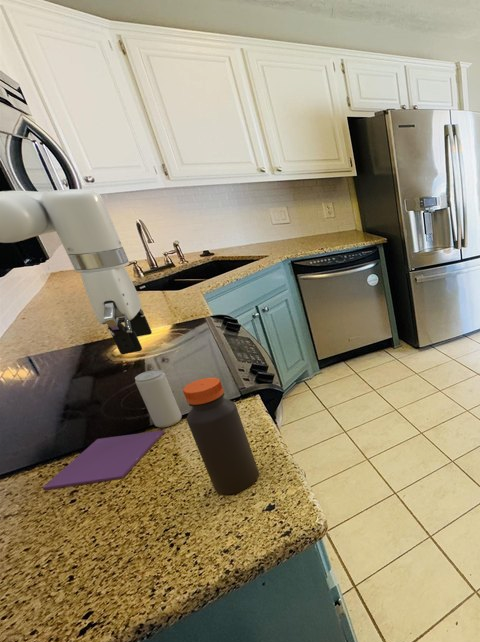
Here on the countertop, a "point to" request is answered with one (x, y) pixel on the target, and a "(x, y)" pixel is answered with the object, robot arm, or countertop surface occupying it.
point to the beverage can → (158, 398)
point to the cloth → (105, 460)
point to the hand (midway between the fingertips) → (137, 343)
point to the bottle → (220, 437)
